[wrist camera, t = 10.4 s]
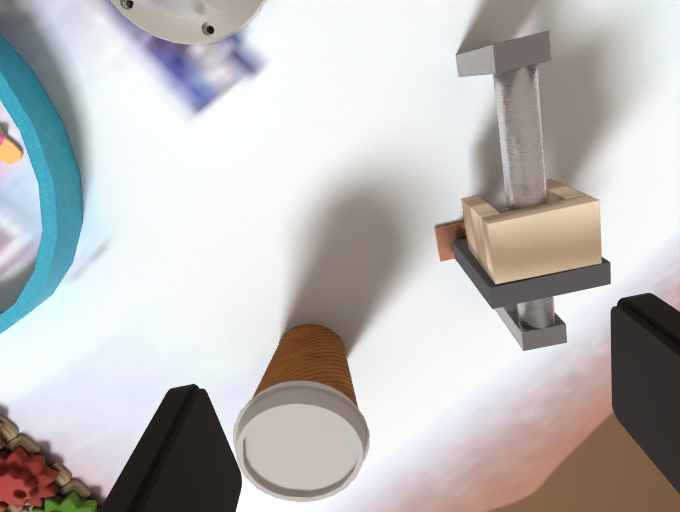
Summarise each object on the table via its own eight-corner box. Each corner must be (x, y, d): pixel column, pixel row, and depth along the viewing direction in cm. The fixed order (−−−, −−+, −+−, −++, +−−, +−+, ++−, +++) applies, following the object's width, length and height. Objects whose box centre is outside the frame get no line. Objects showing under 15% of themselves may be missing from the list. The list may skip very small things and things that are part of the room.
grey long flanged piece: (407, 67, 32) (429, 60, 24) (547, 31, 31) (616, 13, 23) (447, 306, 39) (473, 360, 31) (562, 283, 38) (618, 332, 30)
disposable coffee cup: (374, 381, 42) (386, 490, 30) (280, 405, 43) (259, 518, 31) (345, 295, 38) (346, 381, 27) (244, 324, 39) (205, 417, 28)
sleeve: (461, 198, 32) (488, 224, 26) (550, 178, 32) (599, 200, 25) (468, 248, 34) (495, 284, 27) (553, 230, 33) (601, 263, 27)
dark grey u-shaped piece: (452, 241, 36) (490, 288, 27) (543, 221, 35) (610, 262, 27) (454, 258, 36) (492, 309, 28) (544, 238, 36) (610, 284, 27)
